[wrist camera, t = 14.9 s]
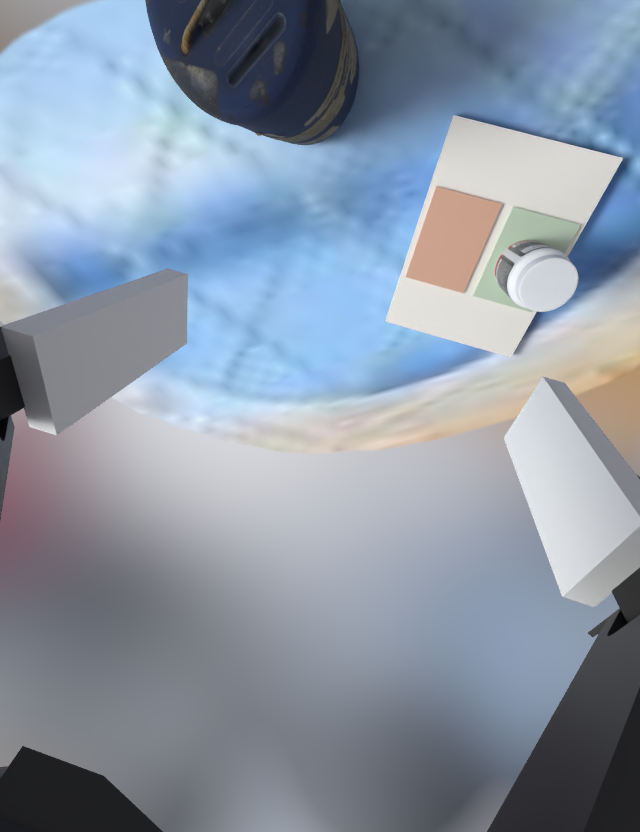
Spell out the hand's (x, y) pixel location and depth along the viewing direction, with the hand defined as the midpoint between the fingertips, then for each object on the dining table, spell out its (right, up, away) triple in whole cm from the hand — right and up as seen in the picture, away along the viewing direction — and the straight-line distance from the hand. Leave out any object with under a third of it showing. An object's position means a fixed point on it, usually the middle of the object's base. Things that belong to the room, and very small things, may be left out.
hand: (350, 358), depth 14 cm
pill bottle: (+18, +12, +21) cm, 30 cm away
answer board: (+15, +14, +22) cm, 30 cm away
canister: (-2, +27, +18) cm, 33 cm away
